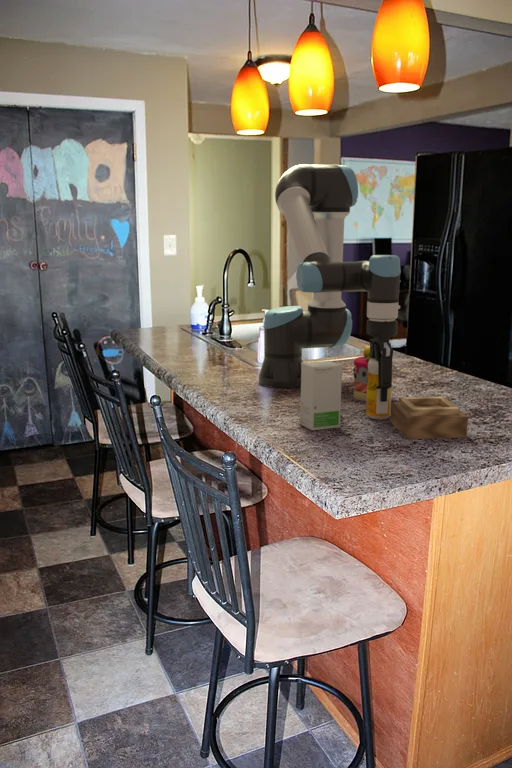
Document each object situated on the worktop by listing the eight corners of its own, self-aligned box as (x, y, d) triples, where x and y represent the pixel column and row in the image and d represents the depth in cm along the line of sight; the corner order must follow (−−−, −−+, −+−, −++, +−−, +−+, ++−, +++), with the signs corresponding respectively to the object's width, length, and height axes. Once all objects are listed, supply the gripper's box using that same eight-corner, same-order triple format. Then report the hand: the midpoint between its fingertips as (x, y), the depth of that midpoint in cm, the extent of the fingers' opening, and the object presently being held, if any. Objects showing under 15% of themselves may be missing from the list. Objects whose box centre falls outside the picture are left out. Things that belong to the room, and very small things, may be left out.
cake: (345, 397, 186) (346, 345, 183) (364, 390, 194) (366, 340, 191) (378, 404, 180) (380, 350, 176) (396, 396, 188) (399, 344, 184)
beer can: (364, 413, 171) (366, 356, 167) (388, 413, 170) (390, 356, 167) (367, 420, 165) (369, 361, 161) (392, 420, 165) (394, 361, 161)
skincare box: (311, 431, 156) (312, 367, 152) (298, 424, 162) (299, 362, 158) (341, 427, 159) (343, 364, 156) (328, 420, 165) (329, 359, 162)
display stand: (406, 439, 150) (408, 411, 149) (390, 421, 164) (391, 396, 162) (466, 437, 151) (468, 410, 150) (445, 420, 165) (446, 394, 163)
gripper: (408, 324, 153) (403, 420, 158) (387, 313, 171) (383, 399, 177) (376, 325, 152) (372, 420, 158) (358, 314, 171) (355, 400, 176)
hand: (378, 409), depth 167 cm, fingers closed on beer can, 6 cm apart
